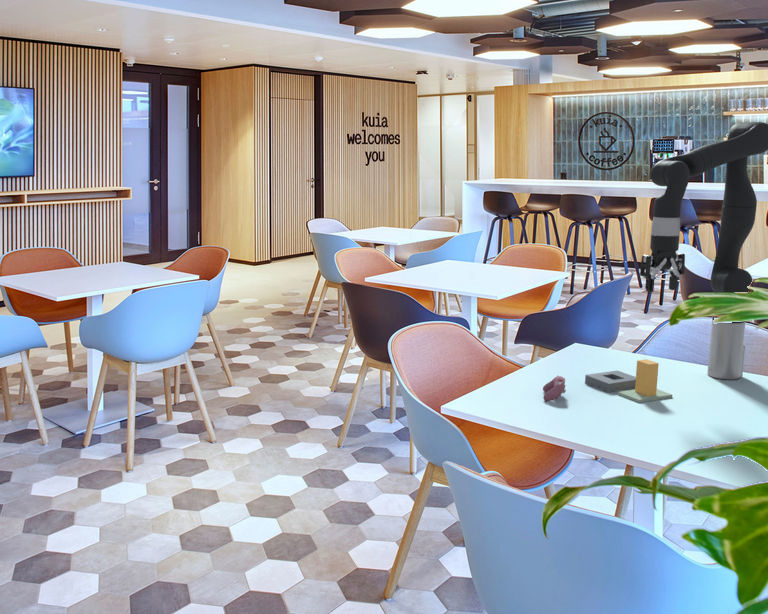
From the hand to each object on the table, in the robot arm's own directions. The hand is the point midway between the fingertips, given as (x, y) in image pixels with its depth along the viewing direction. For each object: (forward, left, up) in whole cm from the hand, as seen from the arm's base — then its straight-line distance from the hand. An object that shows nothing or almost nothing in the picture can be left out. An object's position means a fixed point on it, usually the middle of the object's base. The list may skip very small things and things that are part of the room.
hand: (661, 290), depth 222 cm
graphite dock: (+10, -6, -28) cm, 30 cm away
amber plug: (+9, +6, -27) cm, 29 cm away
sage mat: (+9, +6, -28) cm, 30 cm away
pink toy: (+33, -4, -28) cm, 44 cm away
